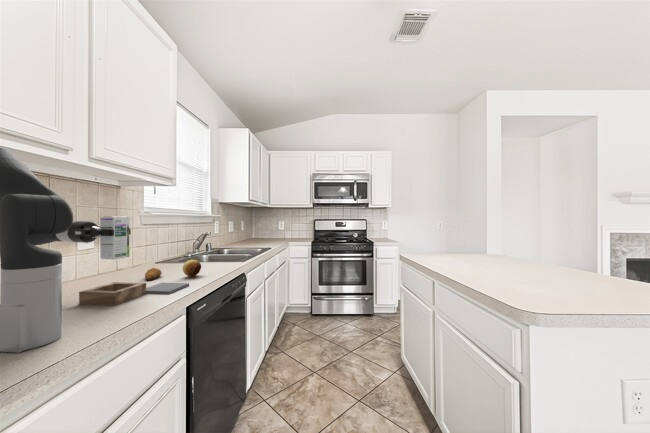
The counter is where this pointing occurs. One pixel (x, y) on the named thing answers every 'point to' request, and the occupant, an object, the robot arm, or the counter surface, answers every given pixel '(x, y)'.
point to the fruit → (192, 268)
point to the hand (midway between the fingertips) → (121, 232)
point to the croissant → (152, 274)
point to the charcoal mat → (166, 288)
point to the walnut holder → (112, 293)
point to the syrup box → (115, 237)
